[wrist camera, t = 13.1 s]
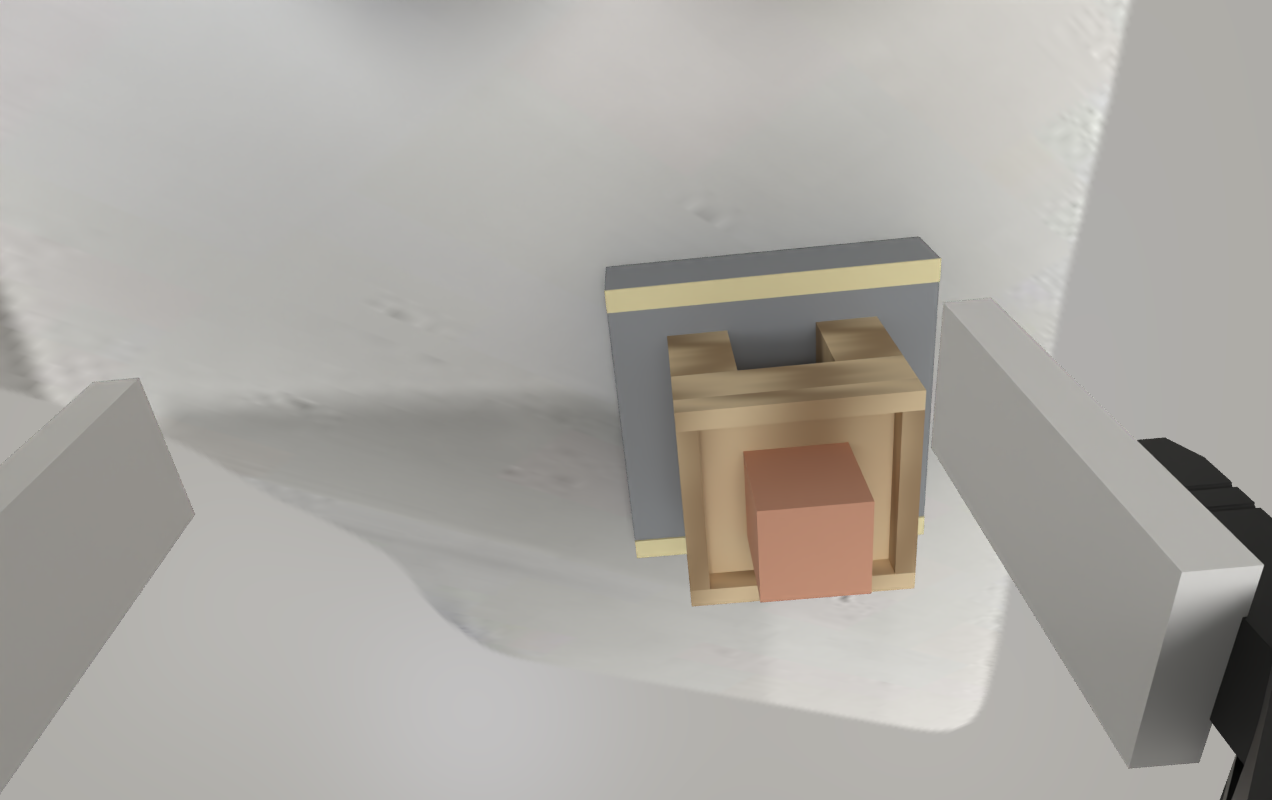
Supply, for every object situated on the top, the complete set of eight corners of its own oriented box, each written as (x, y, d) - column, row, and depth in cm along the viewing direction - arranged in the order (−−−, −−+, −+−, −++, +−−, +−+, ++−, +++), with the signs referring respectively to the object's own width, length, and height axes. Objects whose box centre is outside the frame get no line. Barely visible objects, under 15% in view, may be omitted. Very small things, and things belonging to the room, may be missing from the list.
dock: (636, 521, 46) (637, 557, 43) (606, 267, 39) (604, 291, 37) (905, 498, 45) (923, 534, 42) (919, 236, 39) (941, 259, 36)
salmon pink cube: (747, 536, 35) (760, 602, 32) (743, 451, 33) (756, 511, 30) (846, 527, 35) (871, 593, 31) (848, 442, 33) (874, 501, 30)
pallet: (682, 508, 42) (691, 606, 36) (667, 336, 38) (674, 413, 31) (871, 492, 41) (914, 588, 35) (876, 316, 37) (926, 390, 31)
